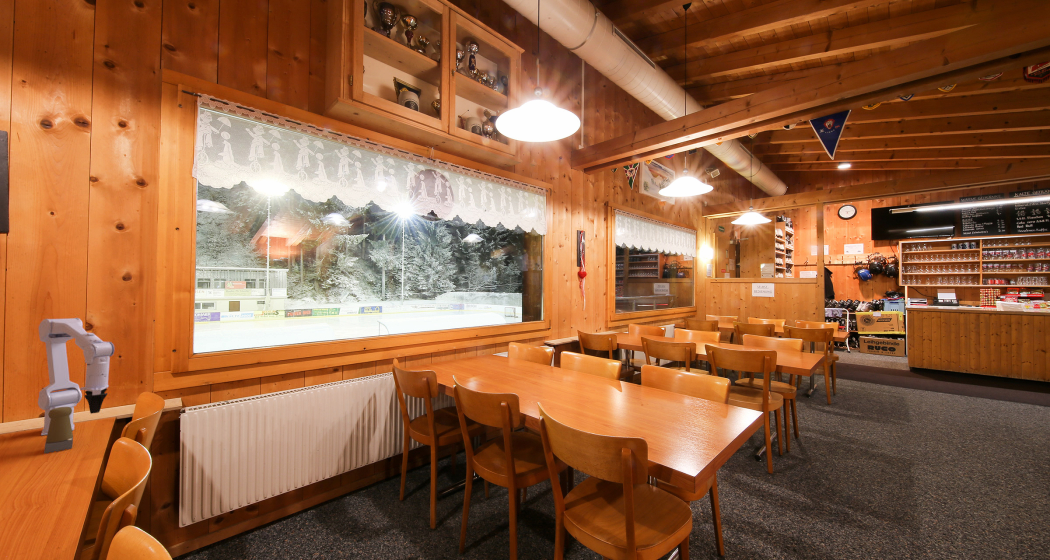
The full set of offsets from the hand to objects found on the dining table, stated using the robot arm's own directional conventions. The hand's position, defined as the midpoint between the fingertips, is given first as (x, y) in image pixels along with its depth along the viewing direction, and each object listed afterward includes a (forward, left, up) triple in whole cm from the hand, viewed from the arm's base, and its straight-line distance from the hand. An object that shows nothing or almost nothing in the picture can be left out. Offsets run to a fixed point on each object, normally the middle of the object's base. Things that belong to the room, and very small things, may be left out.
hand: (94, 410), depth 143 cm
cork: (+8, -8, -7) cm, 13 cm away
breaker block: (+8, -8, -10) cm, 15 cm away
